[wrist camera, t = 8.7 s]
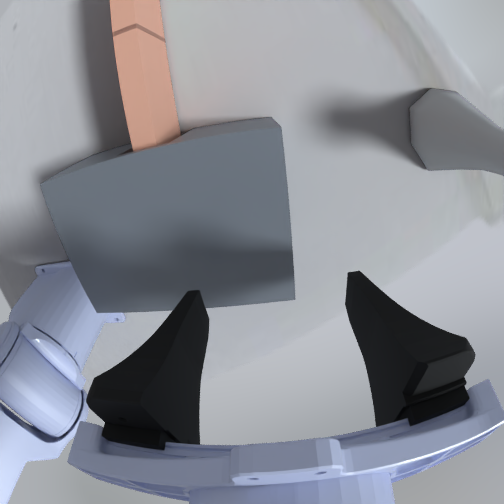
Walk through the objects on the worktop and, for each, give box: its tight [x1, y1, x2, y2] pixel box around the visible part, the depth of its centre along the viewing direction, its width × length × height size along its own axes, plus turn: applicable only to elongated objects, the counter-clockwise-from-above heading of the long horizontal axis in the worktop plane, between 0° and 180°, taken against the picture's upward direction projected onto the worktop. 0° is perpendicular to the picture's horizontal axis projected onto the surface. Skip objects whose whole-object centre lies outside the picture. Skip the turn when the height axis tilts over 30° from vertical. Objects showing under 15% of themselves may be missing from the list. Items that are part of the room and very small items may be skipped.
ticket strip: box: [110, 0, 181, 151], centre depth 12 cm, size 1×16×5 cm, turn 8°
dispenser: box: [40, 117, 295, 313], centre depth 18 cm, size 14×10×7 cm
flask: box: [409, 88, 504, 176], centre depth 13 cm, size 7×7×10 cm
